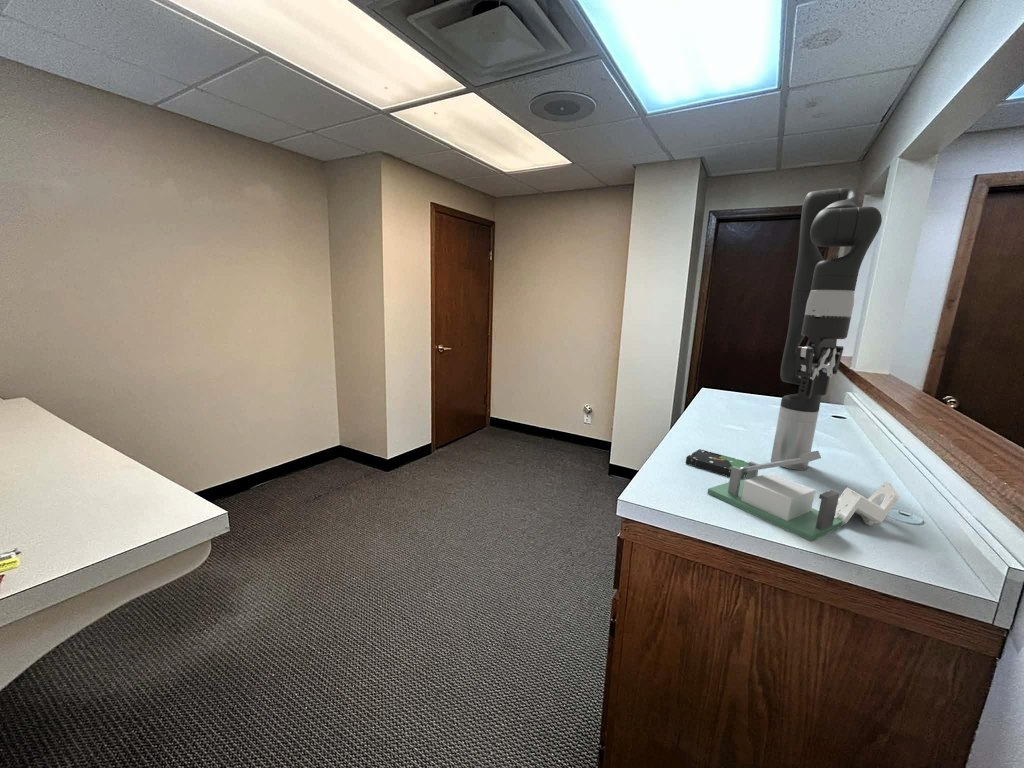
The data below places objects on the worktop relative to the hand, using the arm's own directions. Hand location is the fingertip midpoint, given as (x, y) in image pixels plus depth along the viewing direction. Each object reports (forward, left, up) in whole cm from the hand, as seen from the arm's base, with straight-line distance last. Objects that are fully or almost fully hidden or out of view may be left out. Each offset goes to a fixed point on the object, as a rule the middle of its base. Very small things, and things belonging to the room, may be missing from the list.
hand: (811, 395), depth 86 cm
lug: (0, +6, -26) cm, 27 cm away
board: (0, -4, -28) cm, 28 cm away
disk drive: (-12, -25, -28) cm, 40 cm away
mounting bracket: (-14, +8, -28) cm, 32 cm away
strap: (0, -4, -18) cm, 18 cm away
